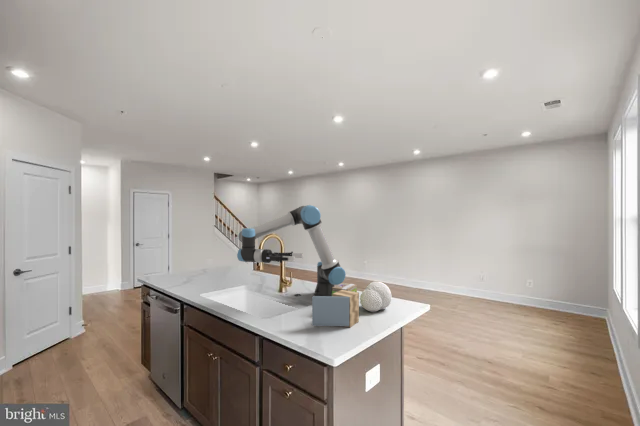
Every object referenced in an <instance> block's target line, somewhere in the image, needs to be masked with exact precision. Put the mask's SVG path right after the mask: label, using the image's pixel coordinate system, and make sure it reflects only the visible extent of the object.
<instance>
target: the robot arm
mask: <svg viewBox="0 0 640 426" xmlns="http://www.w3.org/2000/svg"><path fill="white" fill-rule="evenodd" d="M321 216H322V215H321V211H320V209H319V208H318V207H317V206H314V205H311V204H309V205H302V206H299V207H296V208H294V209H293V210H291V211H288V212H287V213H286V214H284V215H282V216H279V217H277V218H273V219H271V220H268V221H265V222H263V223H260V224H258V225H256V226H255V225H254V226H253V227H248V228H247V227H246V228H242V229H241V231H240V232H239V233H238V235H237V236H238V239H239V241H240V242H241V248H239V249H238V251H237V254H236V256H237V260H238V261H240V262H245V263H258V264H261V263H264V264H270V263H271V262H272V261H273V262H277V263H280V264H281V263H283V262H290V263H291V262H292V263H295V261H296V260H295V259H303V258H304V253H303V252H293V251H290V252H273V251H272V250H271V249H261V248H256V240H257V239H259V238H262V237H264V236H267V235H269V234H272V233H274V232H277V231H279V230H282V229H285V228H287V227H290V226H294V227H295V226H296V225H297V226H298V225H300V224H301V225H302V227H303V229H304V230H305V231H307V232H308V234H309V237H310V239H311V241H312V243H313V245H314V248H315V250H316V253H317V255H318V258H319V259H320V261H318V262H317V265H316V270H317V271H316V274H317V275H316V277H317V278H316V286H315V288H314V296H328V297H332V287H334V286H336V285H338V284H341V283H344V281H345V279H346V274H347V273H346V271H345V269H344V268H343V267H342V266H341V265H340V262H339V260H338V259H335V257H334V255H333V252H332V250H331V247H330V245H329V241H328V240H327V238H326V235H325V233H324V231H323V229H322V226H321V225H322V220H321Z"/></svg>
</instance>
